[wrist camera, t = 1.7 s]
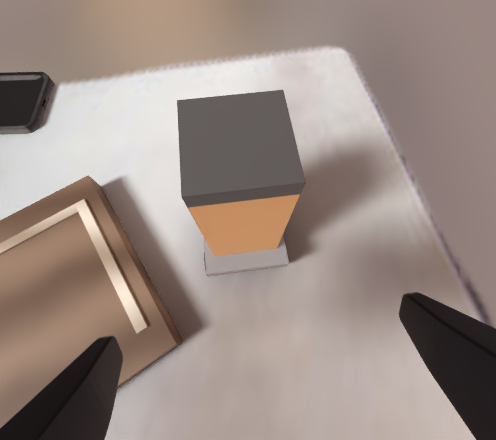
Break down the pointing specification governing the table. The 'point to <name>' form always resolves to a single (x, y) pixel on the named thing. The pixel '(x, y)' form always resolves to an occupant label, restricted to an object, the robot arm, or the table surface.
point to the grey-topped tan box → (239, 177)
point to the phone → (23, 101)
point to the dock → (72, 293)
